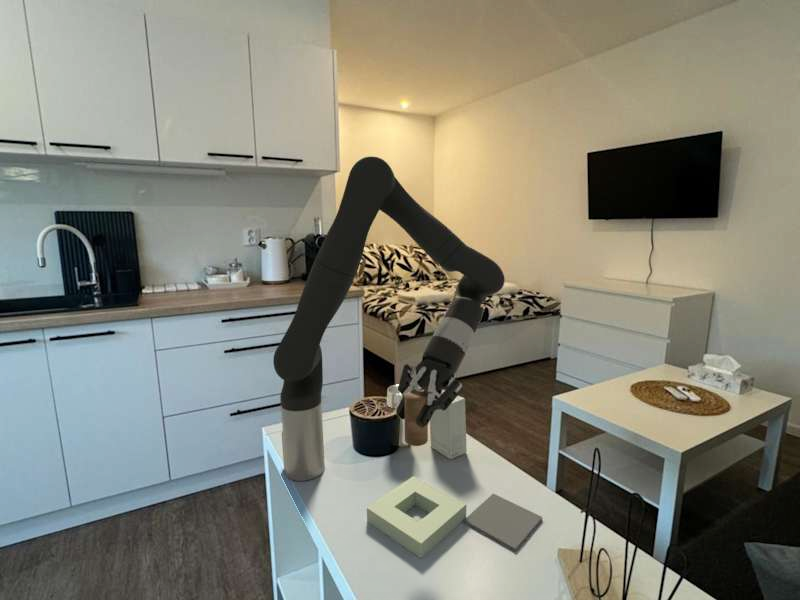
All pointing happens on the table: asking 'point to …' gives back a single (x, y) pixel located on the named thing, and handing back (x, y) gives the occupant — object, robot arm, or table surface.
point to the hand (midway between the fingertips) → (409, 421)
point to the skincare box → (449, 429)
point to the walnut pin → (415, 418)
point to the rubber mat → (503, 521)
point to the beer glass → (393, 402)
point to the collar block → (406, 529)
